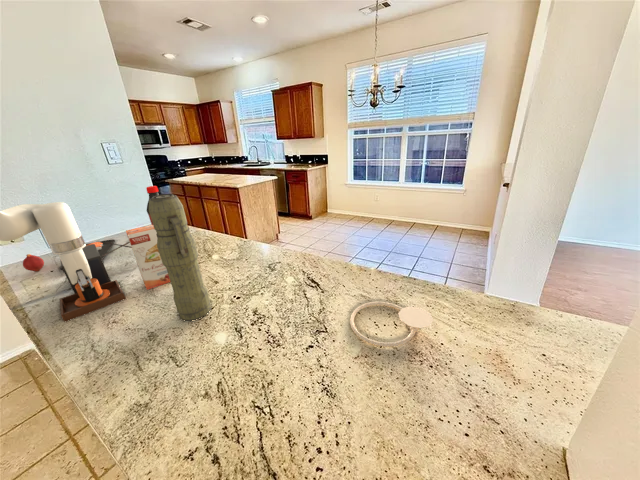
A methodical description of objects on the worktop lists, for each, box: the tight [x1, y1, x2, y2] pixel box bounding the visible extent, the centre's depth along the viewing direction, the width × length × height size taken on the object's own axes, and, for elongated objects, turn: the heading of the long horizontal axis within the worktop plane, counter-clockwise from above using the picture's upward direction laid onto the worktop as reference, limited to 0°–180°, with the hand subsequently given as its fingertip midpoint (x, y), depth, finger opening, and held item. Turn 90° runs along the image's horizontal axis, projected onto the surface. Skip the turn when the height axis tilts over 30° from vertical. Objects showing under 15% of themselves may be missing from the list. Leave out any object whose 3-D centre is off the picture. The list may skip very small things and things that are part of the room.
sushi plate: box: [59, 239, 132, 271], centre depth 122 cm, size 29×30×4 cm
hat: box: [75, 279, 110, 307], centre depth 84 cm, size 9×9×6 cm
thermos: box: [148, 193, 212, 322], centre depth 71 cm, size 9×12×35 cm
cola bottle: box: [145, 185, 160, 225], centre depth 114 cm, size 8×8×30 cm
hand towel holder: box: [349, 301, 434, 348], centre depth 68 cm, size 17×4×21 cm
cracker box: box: [125, 224, 171, 291], centre depth 92 cm, size 14×6×21 cm, turn 129°
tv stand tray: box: [59, 279, 127, 323], centre depth 85 cm, size 15×12×2 cm
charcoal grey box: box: [59, 244, 112, 294], centre depth 95 cm, size 10×16×12 cm, turn 44°
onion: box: [22, 253, 45, 273], centre depth 107 cm, size 6×6×8 cm
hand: (91, 295), depth 85 cm, fingers closed on hat, 5 cm apart
